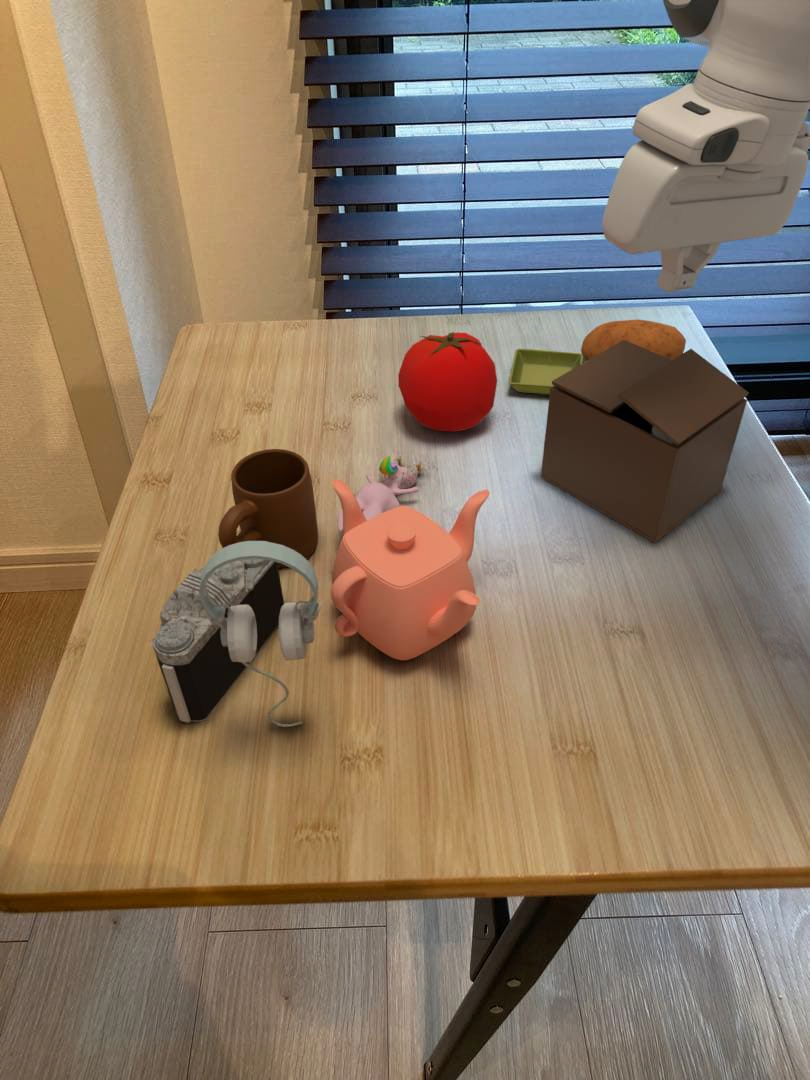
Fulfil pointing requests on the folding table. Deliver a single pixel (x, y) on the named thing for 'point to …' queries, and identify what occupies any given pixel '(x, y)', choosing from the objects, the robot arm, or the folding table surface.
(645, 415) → the flap
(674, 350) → the potato
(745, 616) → the folding table surface
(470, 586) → the teapot
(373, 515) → the pink animal figure
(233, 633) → the headphones
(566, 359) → the olive green tray
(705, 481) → the carton
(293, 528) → the mug
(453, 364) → the tomato
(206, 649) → the camera
